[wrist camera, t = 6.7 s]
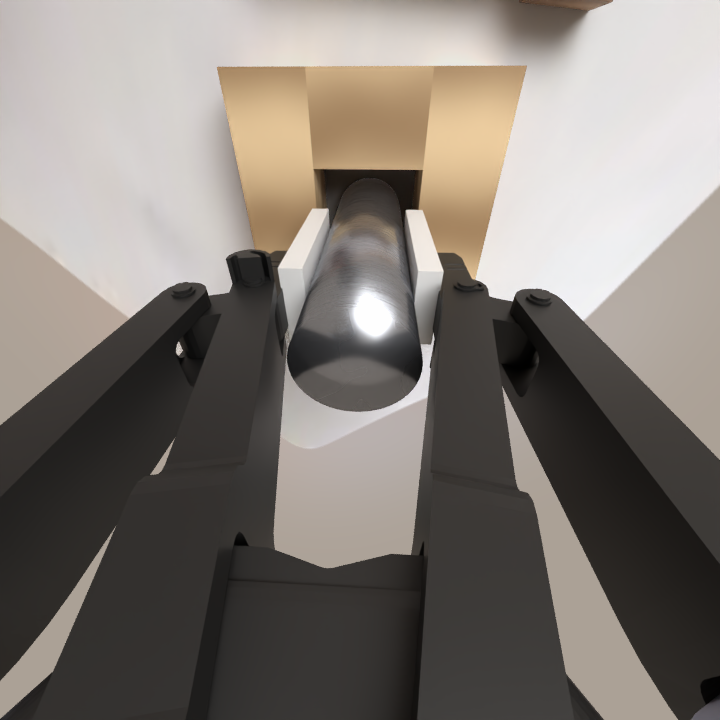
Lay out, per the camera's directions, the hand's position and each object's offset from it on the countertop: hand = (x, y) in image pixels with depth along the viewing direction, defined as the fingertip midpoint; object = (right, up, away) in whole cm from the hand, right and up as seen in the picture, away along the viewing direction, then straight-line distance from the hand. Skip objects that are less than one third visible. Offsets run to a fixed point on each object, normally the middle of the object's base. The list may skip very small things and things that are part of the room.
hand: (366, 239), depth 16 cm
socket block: (0, +3, +4) cm, 5 cm away
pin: (0, +3, +4) cm, 5 cm away
